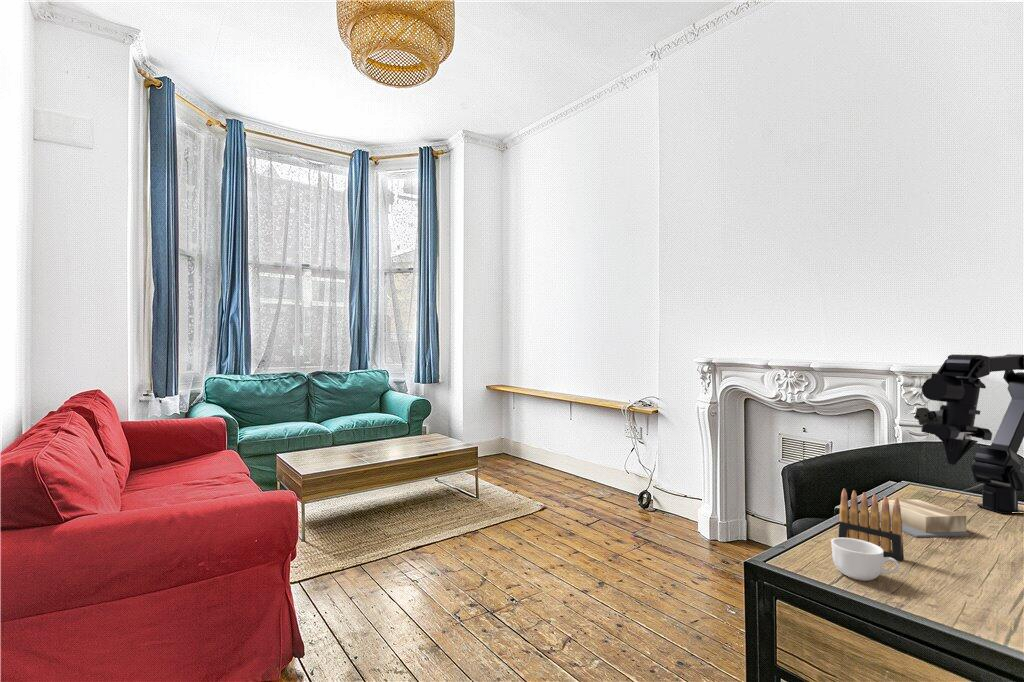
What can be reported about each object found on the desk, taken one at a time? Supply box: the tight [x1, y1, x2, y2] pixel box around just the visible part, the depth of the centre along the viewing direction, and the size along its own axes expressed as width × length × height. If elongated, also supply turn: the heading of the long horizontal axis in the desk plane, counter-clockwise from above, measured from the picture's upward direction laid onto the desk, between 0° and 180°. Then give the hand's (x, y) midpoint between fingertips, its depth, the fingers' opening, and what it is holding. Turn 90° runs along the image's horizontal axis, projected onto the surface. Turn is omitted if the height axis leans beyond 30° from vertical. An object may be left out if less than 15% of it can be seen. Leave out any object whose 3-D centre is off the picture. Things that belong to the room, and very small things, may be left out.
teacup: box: [830, 537, 900, 582], centre depth 89 cm, size 10×8×5 cm
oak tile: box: [879, 499, 967, 533], centre depth 116 cm, size 4×12×10 cm
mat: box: [869, 511, 971, 538], centre depth 116 cm, size 13×15×1 cm
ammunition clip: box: [837, 488, 905, 563], centre depth 100 cm, size 11×2×12 cm, turn 43°
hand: (951, 464), depth 125 cm, fingers closed
